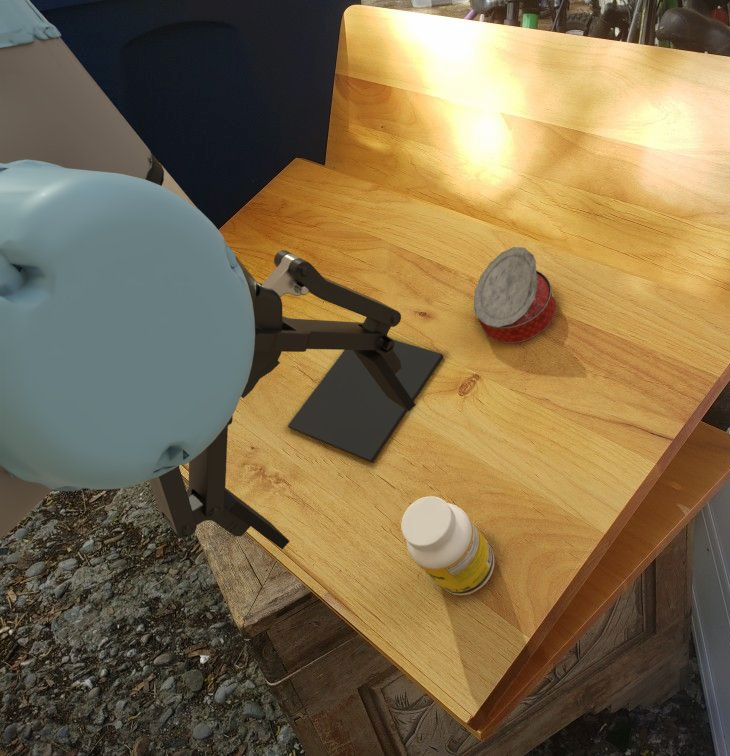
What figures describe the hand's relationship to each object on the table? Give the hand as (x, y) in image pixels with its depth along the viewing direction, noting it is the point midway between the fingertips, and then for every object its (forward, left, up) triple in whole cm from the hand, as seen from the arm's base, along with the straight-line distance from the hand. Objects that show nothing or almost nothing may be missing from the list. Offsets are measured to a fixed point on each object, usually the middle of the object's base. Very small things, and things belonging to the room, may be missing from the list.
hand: (341, 465), depth 52 cm
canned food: (+32, +8, -21) cm, 40 cm away
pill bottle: (+1, -3, -21) cm, 22 cm away
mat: (+15, +21, -21) cm, 34 cm away
